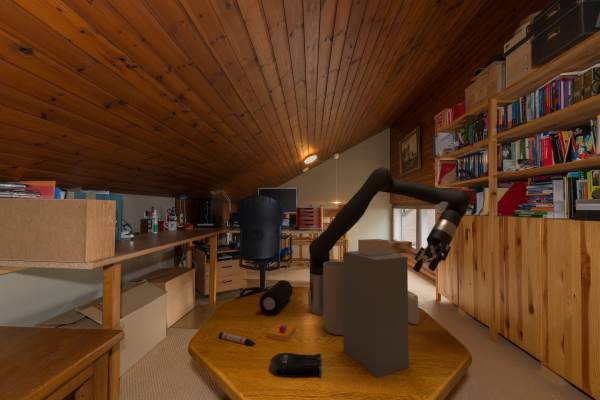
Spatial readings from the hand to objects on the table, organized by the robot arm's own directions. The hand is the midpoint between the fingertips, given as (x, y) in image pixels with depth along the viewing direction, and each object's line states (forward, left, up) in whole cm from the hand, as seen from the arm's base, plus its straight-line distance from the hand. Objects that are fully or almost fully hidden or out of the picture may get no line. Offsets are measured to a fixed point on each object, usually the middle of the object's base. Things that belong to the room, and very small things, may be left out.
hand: (422, 270), depth 93 cm
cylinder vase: (-30, +4, -25) cm, 39 cm away
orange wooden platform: (-50, -8, -26) cm, 56 cm away
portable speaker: (-62, +21, -25) cm, 70 cm away
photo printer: (-4, +20, -25) cm, 32 cm away
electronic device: (-39, -26, -26) cm, 53 cm away
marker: (-63, -17, -26) cm, 70 cm away
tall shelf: (-17, -14, -25) cm, 33 cm away
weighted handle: (-13, -11, +7) cm, 19 cm away
